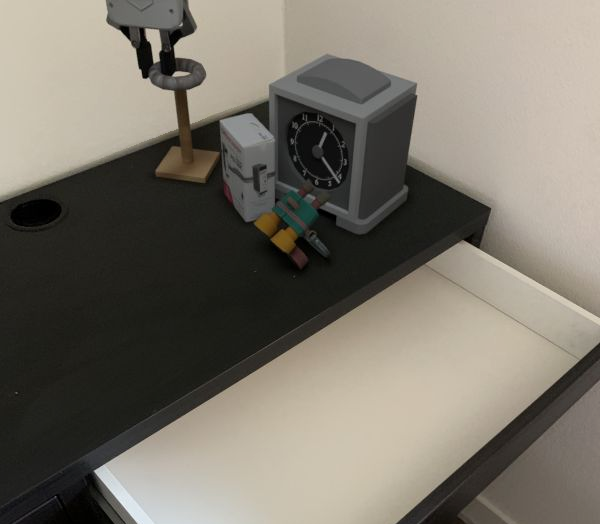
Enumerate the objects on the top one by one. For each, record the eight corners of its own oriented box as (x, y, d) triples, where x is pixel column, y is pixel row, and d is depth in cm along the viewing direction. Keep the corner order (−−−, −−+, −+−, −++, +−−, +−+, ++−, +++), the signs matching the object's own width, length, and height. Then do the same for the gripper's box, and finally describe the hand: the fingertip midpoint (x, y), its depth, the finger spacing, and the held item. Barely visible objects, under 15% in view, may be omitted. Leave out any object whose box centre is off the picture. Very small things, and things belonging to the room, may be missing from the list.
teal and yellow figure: (277, 251, 94) (241, 211, 86) (323, 205, 93) (292, 160, 85) (314, 287, 89) (280, 248, 81) (363, 238, 88) (334, 194, 80)
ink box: (222, 194, 100) (217, 117, 91) (251, 186, 101) (249, 110, 92) (246, 224, 95) (242, 146, 86) (276, 216, 96) (276, 138, 87)
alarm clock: (261, 191, 100) (258, 66, 87) (312, 157, 107) (317, 36, 94) (362, 236, 93) (376, 108, 80) (410, 196, 100) (430, 72, 87)
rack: (155, 176, 102) (142, 92, 93) (173, 151, 108) (162, 68, 98) (205, 183, 102) (197, 98, 92) (220, 157, 107) (214, 75, 97)
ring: (141, 89, 92) (139, 75, 91) (160, 65, 98) (159, 53, 96) (196, 96, 92) (194, 82, 90) (213, 72, 97) (212, 59, 95)
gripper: (62, -76, 79) (95, 81, 93) (190, -64, 77) (204, 94, 91) (88, -92, 84) (115, 59, 98) (209, -81, 82) (220, 71, 96)
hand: (158, 75), depth 95 cm, fingers closed on ring, 2 cm apart
